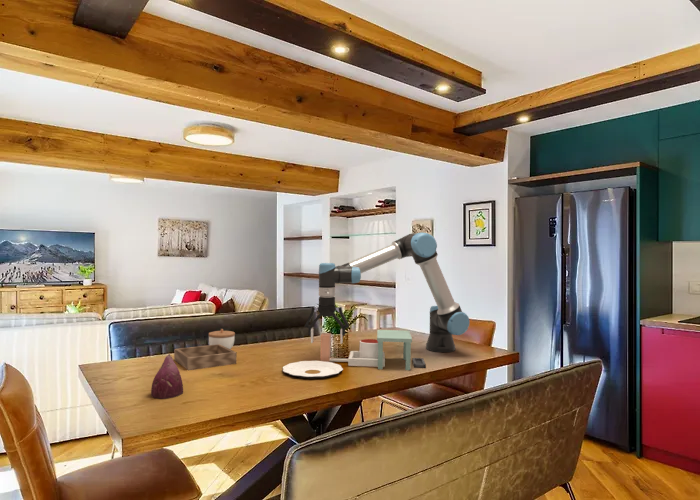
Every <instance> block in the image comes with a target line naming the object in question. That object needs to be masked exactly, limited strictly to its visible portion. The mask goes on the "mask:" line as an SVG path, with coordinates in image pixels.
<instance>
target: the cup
mask: <svg viewBox="0 0 700 500" xmlns="http://www.w3.org/2000/svg"><path fill="white" fill-rule="evenodd" d="M359 351H360V353H359V358H365V359H378V341H377V338H376V339H375V338H365V339H360V340H359Z"/></svg>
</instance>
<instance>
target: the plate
mask: <svg viewBox="0 0 700 500" xmlns="http://www.w3.org/2000/svg"><path fill="white" fill-rule="evenodd" d="M343 370H344V368H343V367H342V365H341V364H338V363H335V362H333V361H329V362H323V361H320V360H302V361H301V360H300V361H296V362H290V363H288V364H286V365H284V366H283V367H282V372H283V373H285V374H288V375H290V376H293V377H295V378H303V379H322V378H328V377H332V376H335V375H337V374H340V373H341V372H343ZM307 371H319V372H318V373H307Z"/></svg>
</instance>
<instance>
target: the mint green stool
mask: <svg viewBox="0 0 700 500" xmlns="http://www.w3.org/2000/svg"><path fill="white" fill-rule="evenodd" d="M376 334H377V335H376V340H377V341H378V367H377V370H383V367H382V366H383V352H384V342H386V343H388V342H389V343H403V346H402V347H403V348H402V350H403V352H402V353H403V356H402V358H403V359H402V360H405V371H411V362H412V361H411V359H412V357H411V356H412V354H411V353H412V350H411V349H412V348H411V347H412V343H413V337H412V335H411V332H410V330H399V329H377V332H376Z"/></svg>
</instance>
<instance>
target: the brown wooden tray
mask: <svg viewBox="0 0 700 500" xmlns="http://www.w3.org/2000/svg"><path fill="white" fill-rule="evenodd" d="M173 361H174V362H176V363H177V364H179V365H180V366H181V367H183V368H185V369H186V370H187V371H193V370H201V369H207V368H208V369H209V368H215V367H223V366H228V365H236V364H237V352H236V351H234V350H233V349H232V348H231V349H229V348H226V347H224V346H222V345H220V344H216V345H210V344H208V345H198V346H191V347H190V346H189V347H180V348H175V349H174V355H173Z"/></svg>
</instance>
